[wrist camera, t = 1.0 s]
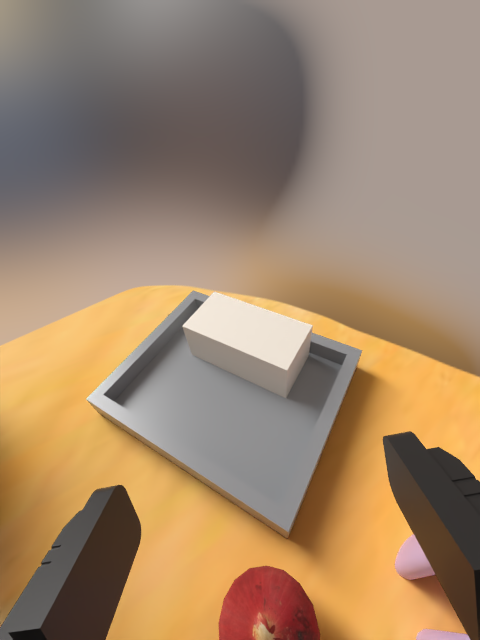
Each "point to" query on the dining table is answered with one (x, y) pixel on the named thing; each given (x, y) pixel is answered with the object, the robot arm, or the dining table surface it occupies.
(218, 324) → the white box
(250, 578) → the onion
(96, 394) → the tray
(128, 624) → the dining table surface
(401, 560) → the clip
